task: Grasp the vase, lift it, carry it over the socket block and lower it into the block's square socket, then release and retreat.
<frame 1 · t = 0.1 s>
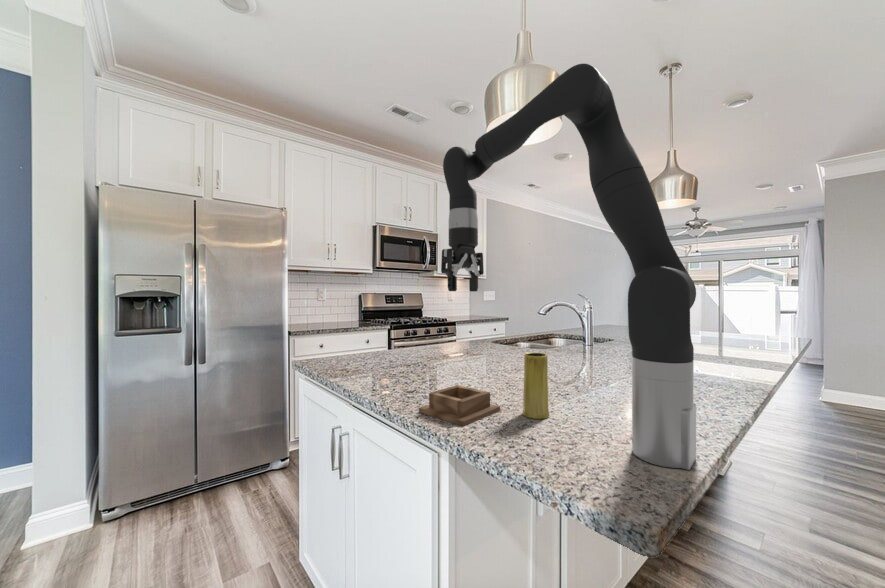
hand: (463, 291, 95), 29 cm above the worktop, fingers open, 8 cm apart
vase: (536, 415, 87), on the worktop
socket block: (459, 411, 89), on the worktop
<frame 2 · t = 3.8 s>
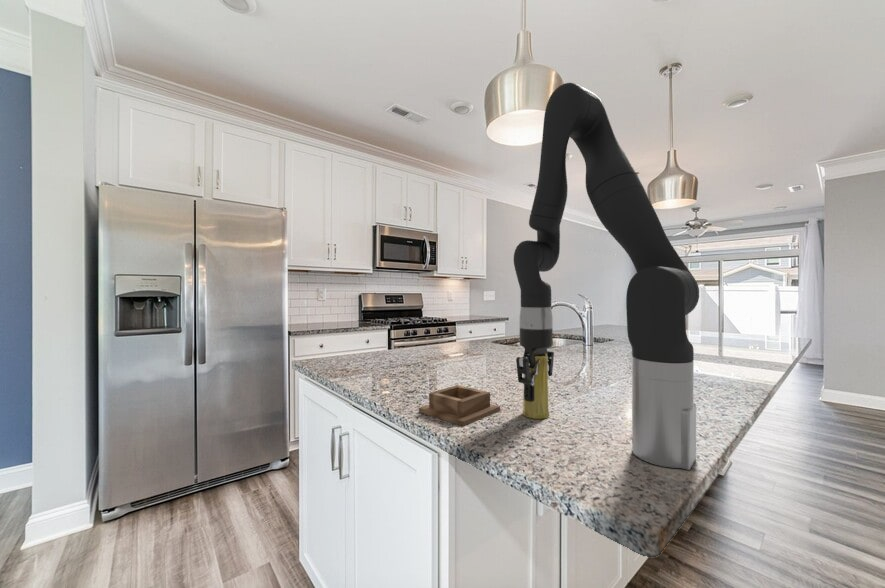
hand: (536, 397, 86), 4 cm above the worktop, fingers closed on vase, 5 cm apart
vase: (536, 415, 87), on the worktop, touching gripper
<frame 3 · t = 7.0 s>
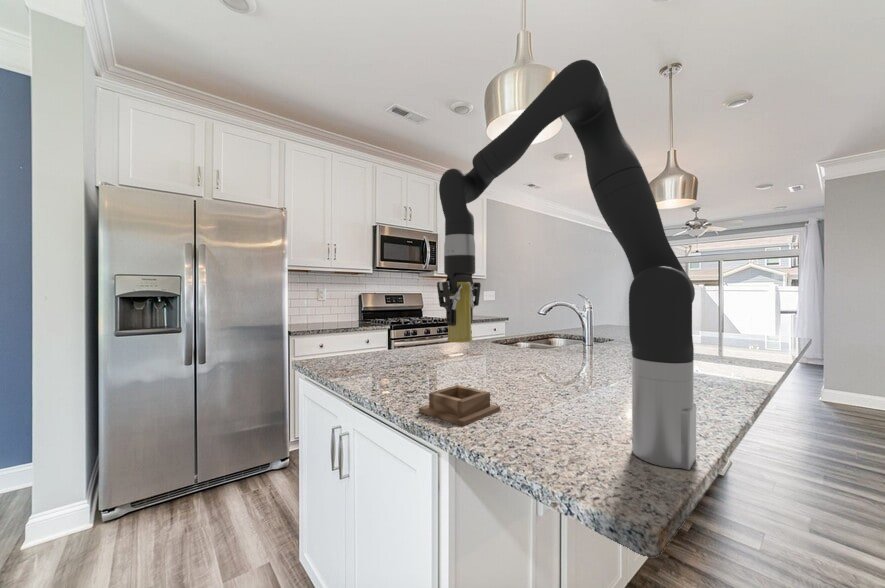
hand: (459, 324, 89), 21 cm above the worktop, fingers closed on vase, 5 cm apart
vase: (459, 341, 89), point 17 cm above the worktop, touching gripper
when the fingers open (7 cm above the worktop, at t = 10.3 s): vase drops 2 cm, resting on socket block.
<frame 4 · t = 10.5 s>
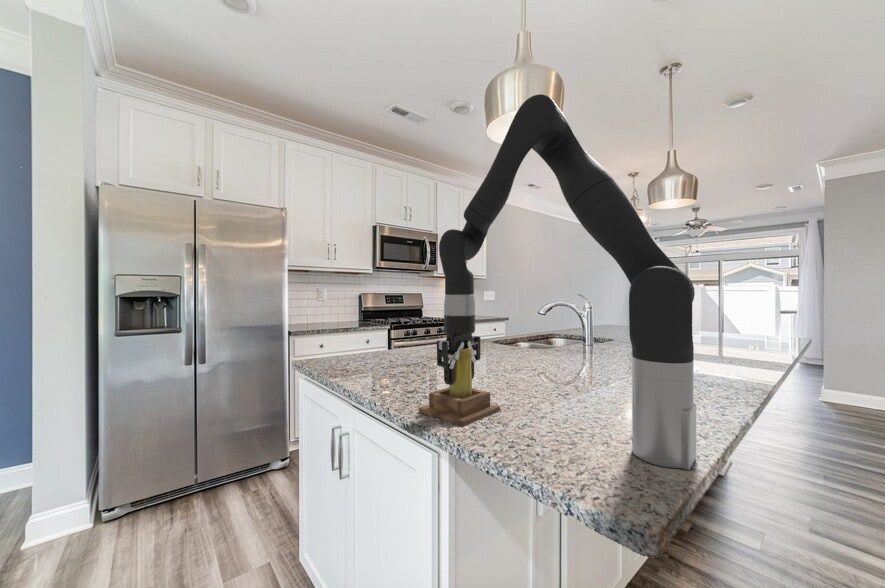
hand: (459, 381, 89), 7 cm above the worktop, fingers open, 7 cm apart
vase: (460, 406, 90), point 1 cm above the worktop, touching socket block
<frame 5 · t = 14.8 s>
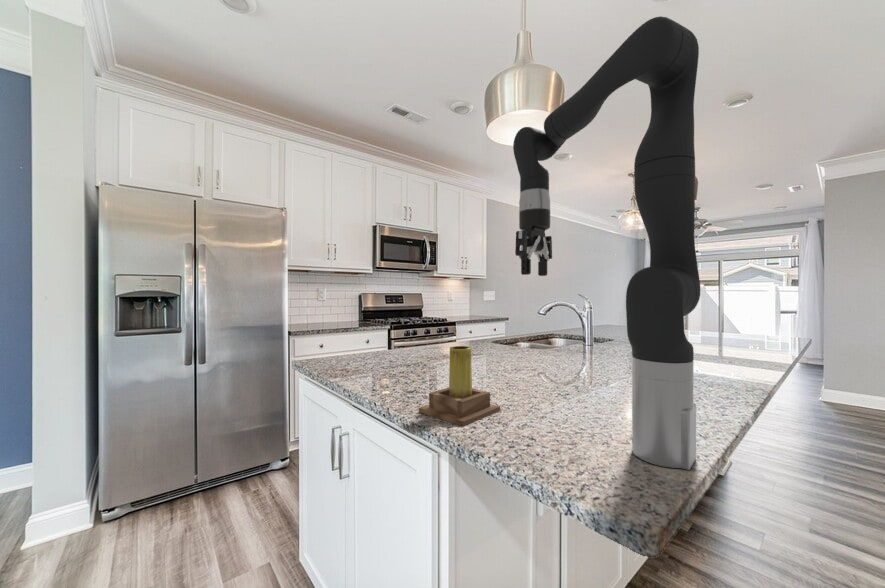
hand: (534, 275, 92), 33 cm above the worktop, fingers open, 8 cm apart
nothing on the worktop moved.
at the end: vase 0.3 cm off-centre on the socket block, point 1.0 cm above the socket block's base; vase tilted 0°; the gripper is holding nothing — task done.
